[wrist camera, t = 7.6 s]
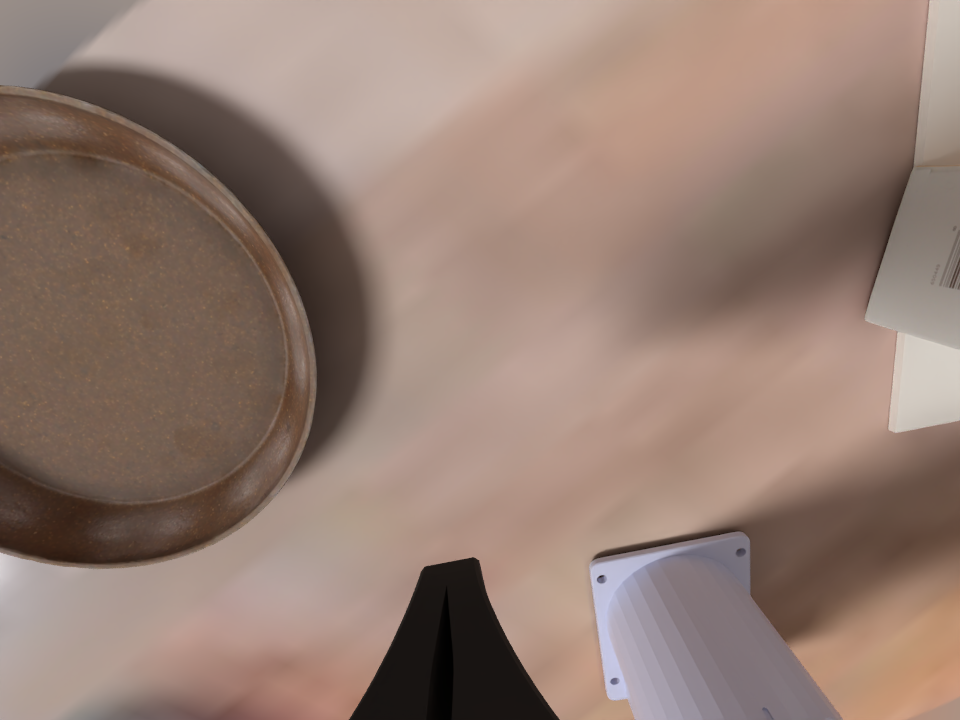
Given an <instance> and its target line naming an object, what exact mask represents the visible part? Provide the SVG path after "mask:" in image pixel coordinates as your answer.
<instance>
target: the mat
mask: <svg viewBox="0 0 960 720" xmlns="http://www.w3.org/2000/svg"><path fill="white" fill-rule="evenodd" d="M950 165H960V0H930V2H929V12H928V22H927V33H926V43H925V53H924V64H923V74H922V84H921V95H920V105H919V115H918V126H917V136H916V146H915V157H914V167H916V166H950ZM914 167H913V168H914ZM956 421H960V350H958V349H955V348H951V347H948V346H945V345H941V344H938V343H935V342H931V341H928V340H925V339H921V338H918V337H915V336H911V335H908V334H905V333H901V332H898V333H897V343H896V353H895V364H894V374H893V384H892V395H891V405H890V415H889V426H888V429H889V430H890V431H892V432H894V433H898V432H904V431H909V430H914V429H919V428H924V427H930V426H935V425H940V424H945V423H950V422H956Z"/></svg>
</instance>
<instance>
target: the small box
mask: <svg viewBox="0 0 960 720" xmlns="http://www.w3.org/2000/svg"><path fill="white" fill-rule="evenodd" d="M865 320H866V321H867V322H870V323H873V324H876V325H879V326H882V327H885V328H889V329H892V330H895V331H898V332H901V333H905V334H908V335H911V336H915V337H918V338H921V339H925V340H928V341H931V342H935V343H938V344H941V345H945V346H948V347H951V348H955V349H958V350H960V165H950V166H916V167H914V168H913V170H912V172H911V174H910V178H909V181H908V184H907V187H906V189H905V192H904V195H903V198H902V202H901V205H900V207H899V210H898V213H897V216H896V219H895V222H894V225H893V228H892V232H891V235H890V237H889V241H888V244H887V247H886V250H885V253H884V256H883V259H882V263H881V266H880V269H879V272H878V275H877V278H876V281H875V285H874V288H873V291H872V294H871V297H870V300H869V304H868V307H867V310H866V314H865Z"/></svg>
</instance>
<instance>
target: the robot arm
mask: <svg viewBox="0 0 960 720" xmlns="http://www.w3.org/2000/svg"><path fill="white" fill-rule="evenodd" d="M740 548H741V549H740ZM738 549H740V550H739V551H737V550H738ZM736 551H737V552H736ZM589 571H590V578H591V586H592V593H593V600H594V608H595V615H596V622H597V630H598V637H599V644H600V652H601V659H602V666H603V674H604V681H605V688H606V692H607V696H608V698H609V699H611V700H621V699H627V698H628V701H629V704H630V707H631V710H632V712H633V715H634V718H635V720H843V718H842V717H841V716H840V714H839V713H838V712H837V710H836V709H835V708H834V706H833V705H832V704H831V702H830V701H829V700H828V698H827V697H826V696H825V694H824V693H823V692H822V690H821V689H820V688H819V686H818V685H817V684H816V682H815V681H814V680H813V678H812V677H811V676H810V674H809V673H808V672H807V670H806V669H805V668H804V666H803V665H802V664H801V662H800V661H799V660H798V658H797V657H796V656H795V654H794V653H793V652H792V650H791V649H790V648H789V646H788V645H787V644H786V642H785V641H784V640H783V638H782V637H781V636H780V634H779V633H778V632H777V630H776V629H775V628H774V627H773V625H772V624H771V623H770V621H769V620H768V619H767V617H766V616H765V615H764V613H763V612H762V611H761V609H760V608H759V607H758V605H757V604H756V603H755V601H754V600H753V599H752V597H751V596H750V539H749V538H748V537H747V536H746V534H745V533H743V532H741V531H740V532H732V533H727V534H722V535H716V536H711V537H706V538H701V539H696V540H690V541H685V542H680V543H675V544H670V545H664V546H659V547H654V548H649V549H644V550H638V551H633V552H628V553H623V554H618V555H612V556H607V557H602V558H597V559H595V560H593V561H592V562H591V563H590V565H589ZM600 575H604V576H603V577H601V578H598V577H599V576H600ZM349 720H560V719H559V718H558V717H557V716H556V714H555V713H554V712H553V710H552V709H551V708H550V706H549V705H548V703H547V702H546V700H545V699H544V698H543V696H542V695H541V693H540V692H539V690H538V689H537V687H536V686H535V684H534V683H533V681H532V680H531V678H530V677H529V675H528V673H527V672H526V670H525V669H524V667H523V665H522V664H521V662H520V660H519V659H518V657H517V655H516V653H515V652H514V650H513V648H512V646H511V644H510V643H509V641H508V639H507V637H506V635H505V633H504V631H503V629H502V627H501V625H500V623H499V621H498V619H497V617H496V614H495V612H494V610H493V608H492V606H491V603H490V601H489V598H488V596H487V593H486V589H485V585H484V580H483V576H482V571H481V567H480V563H479V560H477V559H476V558H474V557H473V558H468V559H462V560H457V561H452V562H447V563H442V564H436V565H431V566H426V567H424V568H423V570H422V571H421V574H420V577H419V580H418V582H417V585H416V588H415V591H414V593H413V596H412V598H411V601H410V603H409V606H408V608H407V610H406V613H405V615H404V617H403V620H402V622H401V624H400V626H399V628H398V631H397V633H396V635H395V637H394V639H393V642H392V644H391V646H390V648H389V650H388V652H387V654H386V655H385V657H384V659H383V661H382V663H381V665H380V667H379V669H378V671H377V673H376V675H375V677H374V679H373V680H372V682H371V684H370V686H369V687H368V689H367V691H366V693H365V694H364V696H363V698H362V699H361V701H360V703H359V704H358V706H357V708H356V709H355V711H354V713H353V714H352V716H351V717H350V719H349Z"/></svg>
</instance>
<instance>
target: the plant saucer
mask: <svg viewBox="0 0 960 720" xmlns="http://www.w3.org/2000/svg"><path fill="white" fill-rule="evenodd" d="M316 391H317V367H316V356H315V348H314V343H313V338H312V333H311V328H310V325H309V321H308V317H307V314H306V311H305V308H304V305H303V303H302V300H301V297H300V294H299V292H298V290H297V287H296V285H295V283H294V281H293V279H292V277H291V275H290V273H289V270H288V268H287V266H286V265H285V263H284V261H283V259H282V257H281V256H280V254H279V252H278V251H277V249H276V248H275V246H274V244H273V243H272V241H271V240H270V238H269V237H268V235H267V234H266V233H265V231H264V230H263V228H262V227H261V226H260V224H259V223H258V222H257V221H256V219H255V218H254V217H253V216H252V215H251V214H250V212H249V211H248V210H247V209H246V208H245V207H244V205H243V204H242V203H241V202H240V201H239V200H238V199H237V197H236V196H235V195H234V194H233V193H232V192H231V191H230V190H229V189H228V188H227V187H226V186H225V185H224V184H223V183H222V182H220V181H219V180H218V179H217V178H216V177H215V176H214V175H213V174H212V173H210V172H209V171H208V170H207V169H206V168H205V167H203V166H202V165H201V164H200V163H198V162H197V161H196V160H195V159H193V158H192V157H190V156H189V155H188V154H186V153H185V152H184V151H182V150H181V149H179V148H178V147H176V146H175V145H173V144H172V143H170V142H169V141H167V140H165V139H164V138H162V137H161V136H159V135H157V134H156V133H154V132H152V131H151V130H149V129H147V128H145V127H143V126H141V125H139V124H137V123H135V122H133V121H131V120H129V119H127V118H125V117H123V116H121V115H119V114H116V113H114V112H112V111H110V110H107V109H105V108H102V107H99V106H97V105H94V104H91V103H88V102H85V101H82V100H79V99H76V98H72V97H69V96H65V95H62V94H58V93H53V92H49V91H44V90H39V89H32V88H25V87H17V86H2V85H0V552H1V553H4V554H7V555H10V556H14V557H18V558H22V559H27V560H33V561H36V562H40V563H45V564H51V565H57V566H64V567H78V568H89V569H110V568H129V567H137V566H145V565H150V564H156V563H160V562H164V561H168V560H172V559H176V558H179V557H183V556H186V555H189V554H192V553H194V552H197V551H199V550H202V549H204V548H206V547H208V546H210V545H213V544H215V543H217V542H218V541H220V540H222V539H224V538H225V537H227V536H229V535H230V534H232V533H233V532H235V531H237V530H238V529H240V528H241V527H242V526H244V525H245V524H247V523H248V522H249V521H250V520H251V519H253V518H254V517H255V516H256V515H257V514H258V513H259V512H260V511H261V510H263V509H264V508H265V507H266V506H267V505H268V504H269V502H270V501H271V500H272V499H273V498H274V497H275V496H276V495H277V494H278V492H279V491H280V490H281V488H282V487H283V486H284V484H285V483H286V481H287V480H288V478H289V477H290V475H291V473H292V472H293V470H294V468H295V466H296V465H297V463H298V461H299V459H300V457H301V455H302V452H303V450H304V447H305V444H306V441H307V439H308V436H309V433H310V429H311V425H312V421H313V415H314V409H315V402H316Z"/></svg>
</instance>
